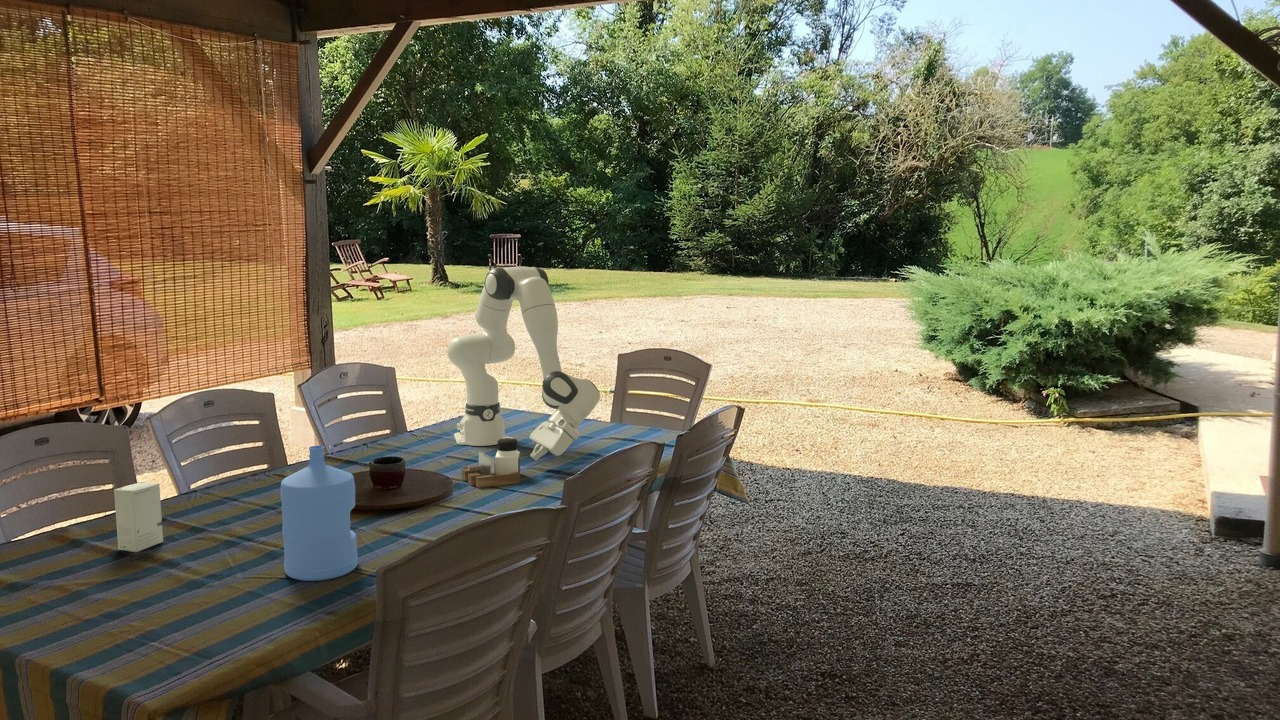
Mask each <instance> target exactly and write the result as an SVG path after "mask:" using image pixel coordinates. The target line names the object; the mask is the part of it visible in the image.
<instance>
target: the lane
mask: <svg viewBox="0 0 1280 720" xmlns="http://www.w3.org/2000/svg"><path fill="white" fill-rule="evenodd" d="M478 465H479V464H470V465H462V467H461V468H462V469H461V476H462V477H461V478H462V480H463V481H464V482H467V483H468V484H469V486H470V487H476V488H477V489H481V488H488V487H489V488H490V487H495V486H496V487H498V486H503V485H504V486H505V485H510V484H511V485H512V484H519V483H520V476H519V473H518V472H512V473H504V474H496V475H488V476H481V475H480V474H479V470H477V471H468V467H469V466H478ZM494 466H495V462H494Z"/></svg>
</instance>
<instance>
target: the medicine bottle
mask: <svg viewBox="0 0 1280 720" xmlns="http://www.w3.org/2000/svg"><path fill="white" fill-rule="evenodd" d="M520 453H521V452H520V451H518V440H517V438H514V437H509V436H508V437H507V438H501V439H499V440H498V444H497V451H496V454H495V457H494V463H495V475H496V474H504V473H512V472H518V473H519V477H520V475H521V454H520Z"/></svg>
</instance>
